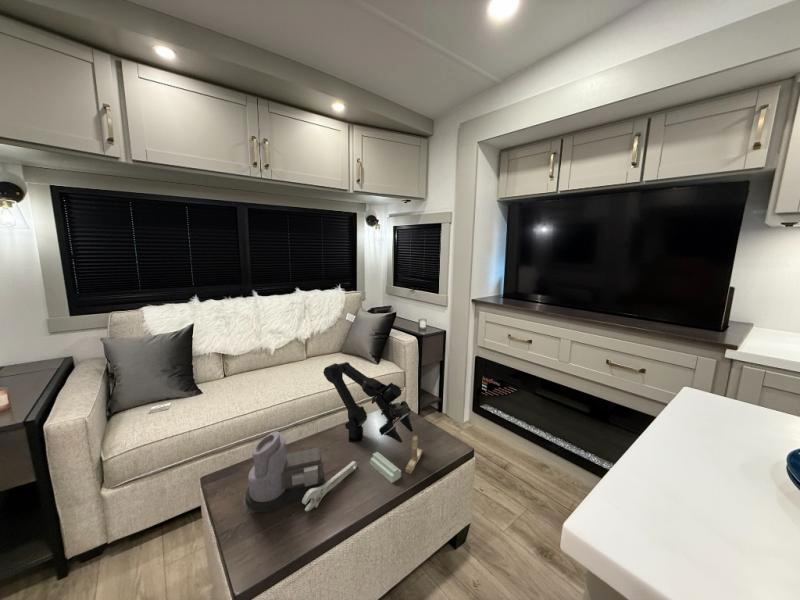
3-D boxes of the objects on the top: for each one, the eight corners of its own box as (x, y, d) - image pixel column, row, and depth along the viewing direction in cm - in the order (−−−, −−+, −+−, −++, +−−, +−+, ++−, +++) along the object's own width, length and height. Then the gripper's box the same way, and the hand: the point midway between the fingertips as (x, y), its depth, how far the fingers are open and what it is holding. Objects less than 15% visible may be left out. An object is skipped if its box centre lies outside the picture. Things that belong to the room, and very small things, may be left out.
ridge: (370, 464, 135) (370, 455, 134) (379, 459, 138) (379, 450, 137) (391, 483, 125) (391, 473, 124) (400, 477, 128) (401, 467, 127)
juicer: (239, 519, 107) (234, 455, 103) (244, 485, 122) (240, 428, 118) (328, 496, 118) (326, 437, 113) (322, 467, 133) (321, 414, 128)
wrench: (356, 473, 134) (304, 519, 107) (353, 471, 134) (300, 516, 108) (358, 455, 133) (305, 497, 107) (354, 454, 134) (301, 494, 107)
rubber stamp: (410, 474, 130) (411, 447, 128) (405, 472, 131) (406, 445, 129) (422, 453, 143) (422, 428, 140) (417, 452, 144) (417, 427, 141)
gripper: (385, 407, 129) (407, 440, 125) (407, 389, 144) (428, 418, 141) (369, 419, 134) (391, 451, 130) (393, 400, 150) (412, 429, 146)
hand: (407, 436), depth 137 cm, fingers open, 9 cm apart
